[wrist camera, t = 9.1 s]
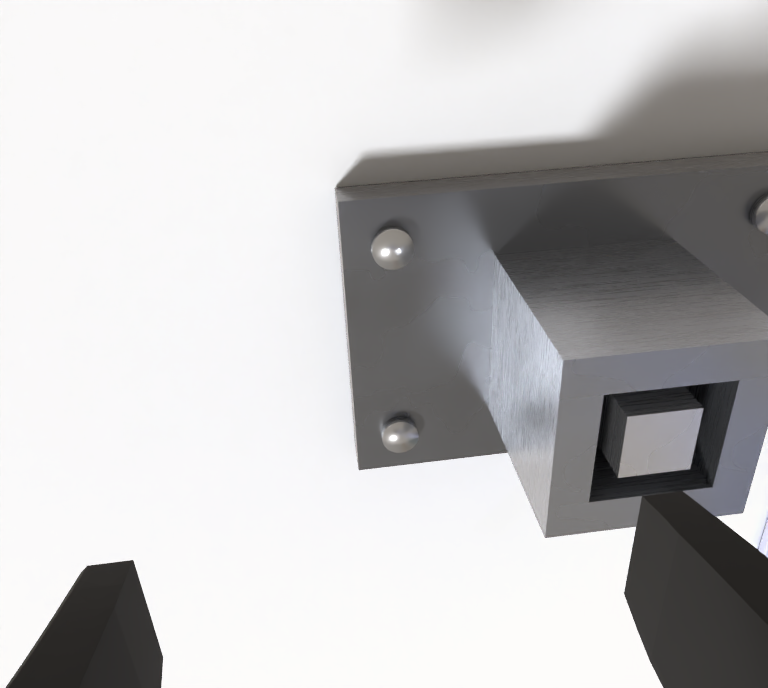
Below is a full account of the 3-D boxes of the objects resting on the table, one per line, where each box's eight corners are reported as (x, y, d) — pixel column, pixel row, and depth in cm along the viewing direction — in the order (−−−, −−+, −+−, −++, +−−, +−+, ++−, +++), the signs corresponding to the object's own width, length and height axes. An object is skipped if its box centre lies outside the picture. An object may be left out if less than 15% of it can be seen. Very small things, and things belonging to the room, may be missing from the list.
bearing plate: (801, 148, 19) (1000, 237, 14) (738, 403, 23) (872, 545, 18) (334, 187, 18) (359, 299, 13) (355, 448, 22) (380, 612, 17)
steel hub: (672, 238, 18) (792, 336, 14) (646, 389, 21) (742, 512, 17) (494, 254, 18) (563, 360, 14) (487, 407, 20) (545, 537, 16)
